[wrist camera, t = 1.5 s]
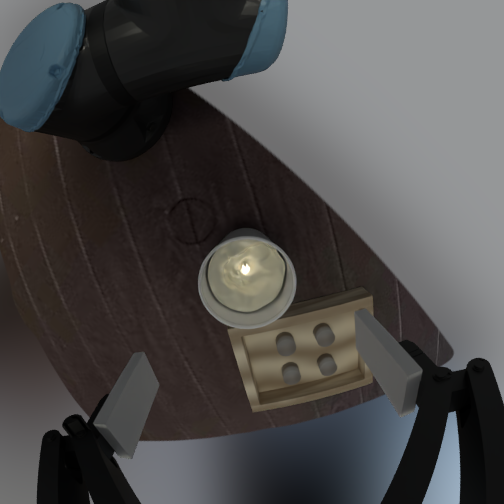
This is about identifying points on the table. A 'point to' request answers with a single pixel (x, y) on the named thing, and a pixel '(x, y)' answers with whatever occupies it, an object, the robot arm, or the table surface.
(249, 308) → the candle holder
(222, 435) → the table surface
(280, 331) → the peg frame
